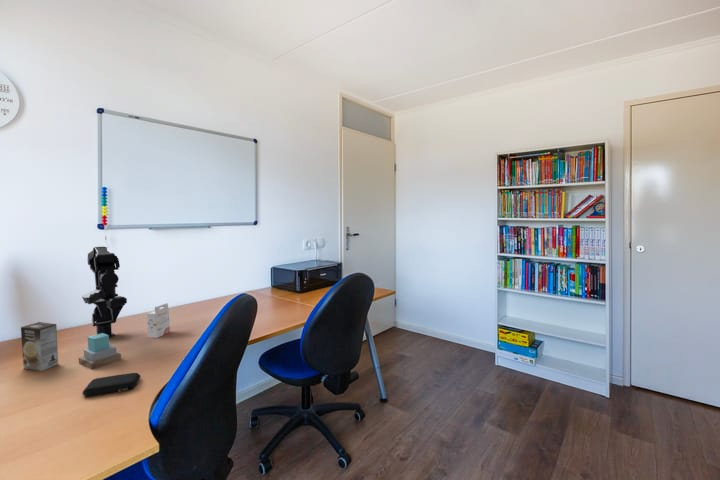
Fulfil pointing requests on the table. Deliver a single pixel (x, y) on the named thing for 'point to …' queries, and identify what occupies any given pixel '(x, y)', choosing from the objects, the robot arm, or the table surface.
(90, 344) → the teal cube
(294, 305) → the table surface
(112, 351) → the grey slab
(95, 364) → the tan flat square block
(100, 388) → the carrying case or bag
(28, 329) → the coffee box
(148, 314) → the ink cartridge box
